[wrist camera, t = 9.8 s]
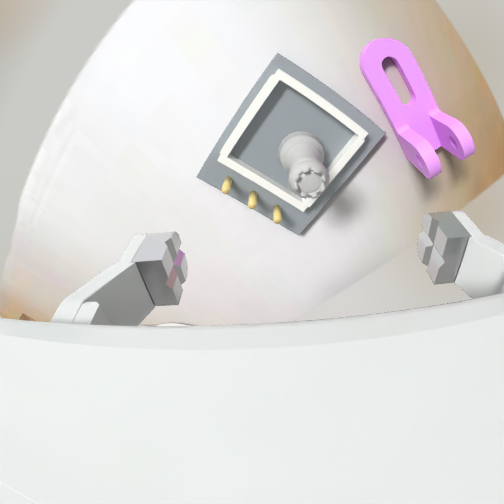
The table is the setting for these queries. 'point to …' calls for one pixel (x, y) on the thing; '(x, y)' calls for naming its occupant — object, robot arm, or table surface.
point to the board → (271, 135)
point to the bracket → (413, 108)
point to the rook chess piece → (304, 164)
